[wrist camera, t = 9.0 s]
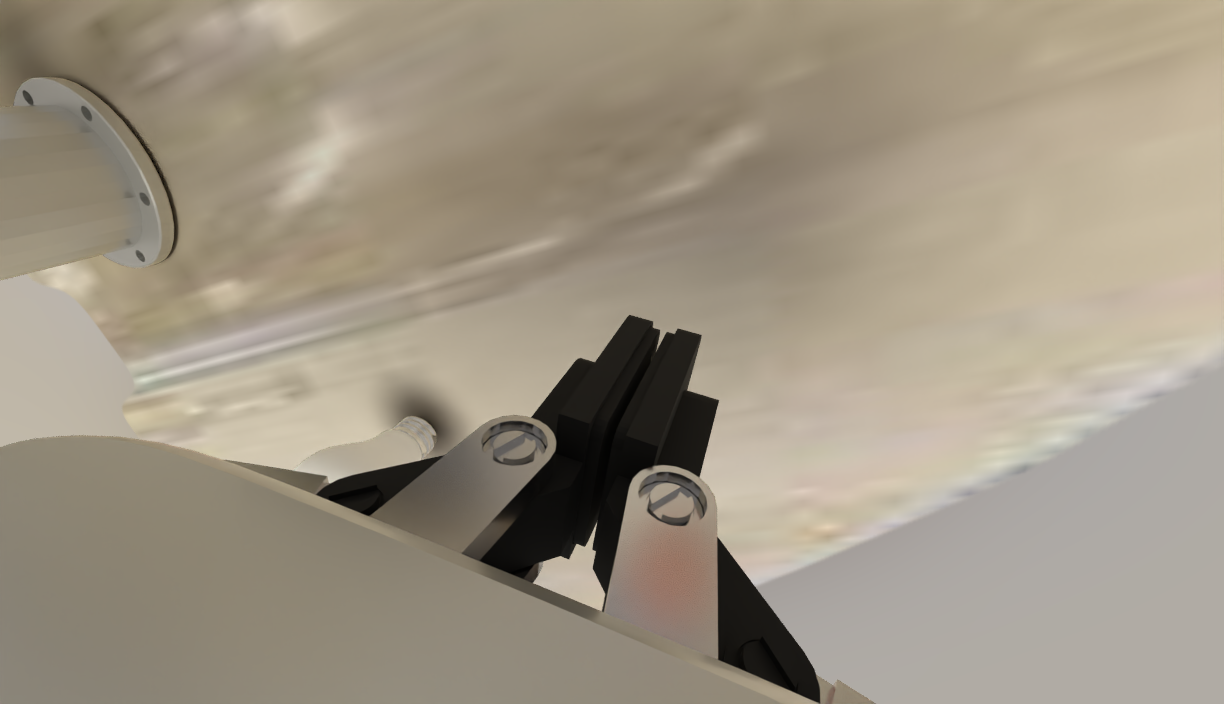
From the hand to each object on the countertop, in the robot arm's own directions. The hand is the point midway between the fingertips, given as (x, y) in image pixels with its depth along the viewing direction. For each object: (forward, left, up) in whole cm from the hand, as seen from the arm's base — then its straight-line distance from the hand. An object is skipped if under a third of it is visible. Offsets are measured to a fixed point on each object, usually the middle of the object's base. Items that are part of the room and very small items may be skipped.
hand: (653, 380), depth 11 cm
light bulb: (-17, -19, -14) cm, 29 cm away
